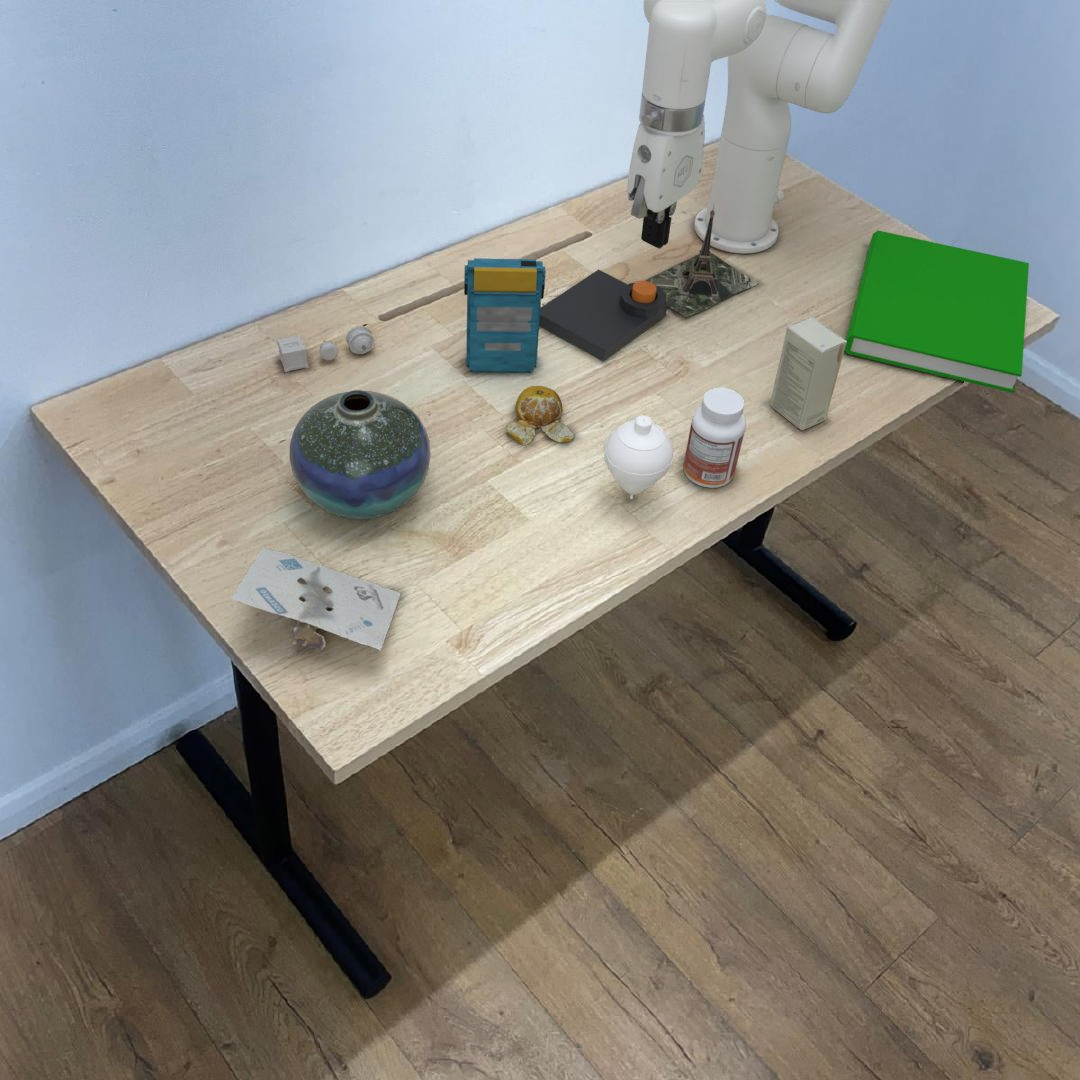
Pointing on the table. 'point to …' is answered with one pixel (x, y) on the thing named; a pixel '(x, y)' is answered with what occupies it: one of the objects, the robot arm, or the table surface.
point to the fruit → (538, 416)
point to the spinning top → (638, 454)
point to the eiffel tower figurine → (700, 280)
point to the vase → (360, 454)
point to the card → (318, 599)
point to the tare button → (644, 292)
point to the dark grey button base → (601, 314)
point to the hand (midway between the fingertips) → (654, 241)
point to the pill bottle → (715, 438)
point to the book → (941, 311)
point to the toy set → (322, 348)
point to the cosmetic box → (807, 372)
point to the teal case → (503, 314)
